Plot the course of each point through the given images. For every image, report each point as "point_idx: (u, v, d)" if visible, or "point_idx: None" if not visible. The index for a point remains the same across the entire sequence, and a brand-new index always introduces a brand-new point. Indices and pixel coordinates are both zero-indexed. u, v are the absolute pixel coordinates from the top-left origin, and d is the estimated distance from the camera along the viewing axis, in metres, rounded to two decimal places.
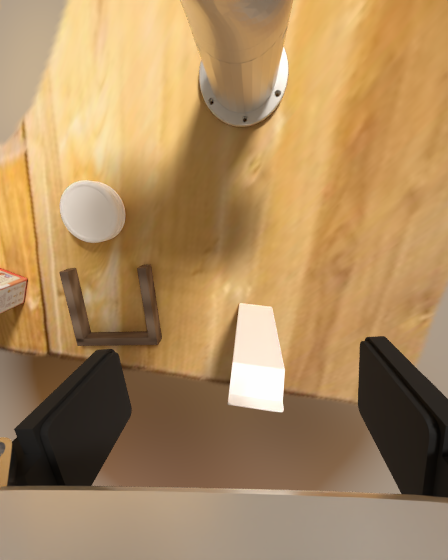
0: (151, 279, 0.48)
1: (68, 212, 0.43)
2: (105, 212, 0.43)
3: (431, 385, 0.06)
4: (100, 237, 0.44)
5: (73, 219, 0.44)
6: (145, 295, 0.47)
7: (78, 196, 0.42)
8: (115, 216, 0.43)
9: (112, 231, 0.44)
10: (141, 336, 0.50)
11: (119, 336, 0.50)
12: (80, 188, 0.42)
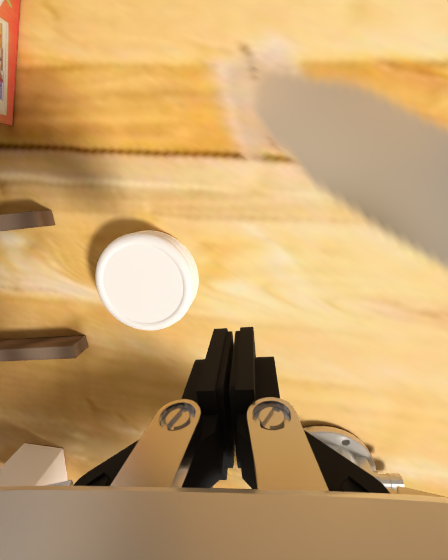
0: None
1: (138, 250, 0.25)
2: (146, 313, 0.27)
3: (252, 362, 0.08)
4: (106, 301, 0.27)
5: (128, 258, 0.25)
6: (33, 353, 0.30)
7: (167, 273, 0.25)
8: (142, 328, 0.27)
9: (119, 320, 0.27)
10: None
11: None
12: (179, 278, 0.25)
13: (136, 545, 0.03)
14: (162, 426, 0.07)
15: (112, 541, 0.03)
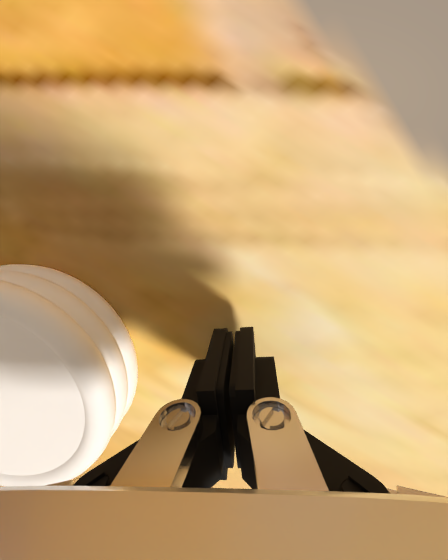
0: None
1: None
2: (9, 458, 0.12)
3: (252, 362, 0.08)
4: None
5: None
6: None
7: (42, 377, 0.10)
8: (6, 485, 0.12)
9: None
10: None
11: None
12: (72, 389, 0.10)
13: (136, 545, 0.03)
14: (162, 426, 0.07)
15: (112, 541, 0.03)
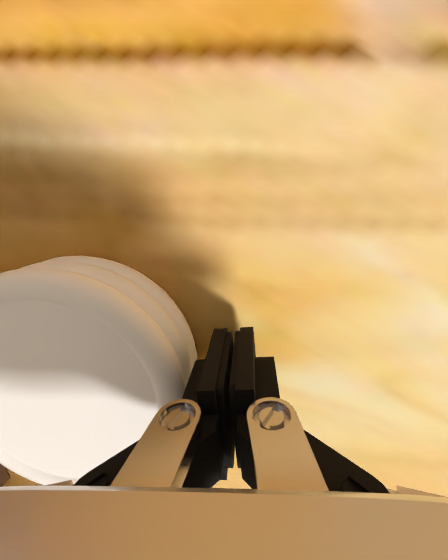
0: None
1: (35, 317, 0.09)
2: (70, 460, 0.11)
3: (252, 362, 0.08)
4: None
5: (11, 334, 0.09)
6: None
7: (115, 376, 0.10)
8: None
9: None
10: None
11: None
12: (147, 389, 0.09)
13: (136, 545, 0.03)
14: (162, 426, 0.07)
15: (112, 541, 0.03)
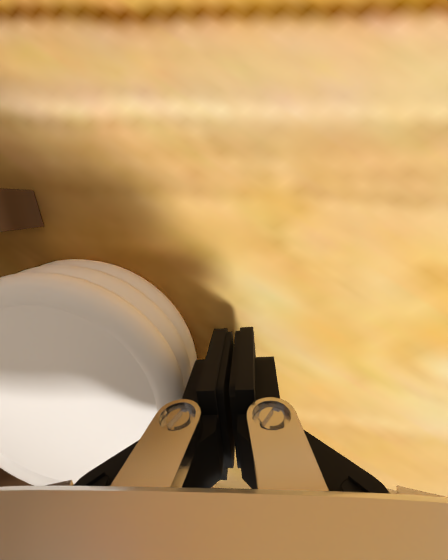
0: None
1: (35, 322, 0.09)
2: (69, 464, 0.11)
3: (251, 362, 0.08)
4: None
5: (10, 339, 0.09)
6: None
7: (115, 381, 0.09)
8: None
9: None
10: None
11: None
12: (147, 394, 0.09)
13: (136, 545, 0.03)
14: (162, 426, 0.07)
15: (112, 541, 0.03)
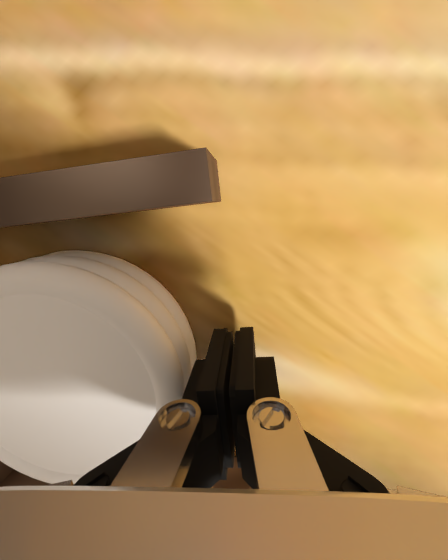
0: None
1: (41, 312, 0.09)
2: (62, 455, 0.11)
3: (252, 362, 0.08)
4: None
5: (13, 327, 0.09)
6: None
7: (116, 376, 0.09)
8: (52, 482, 0.11)
9: None
10: None
11: None
12: (147, 391, 0.10)
13: (136, 545, 0.03)
14: (162, 426, 0.07)
15: (112, 541, 0.03)
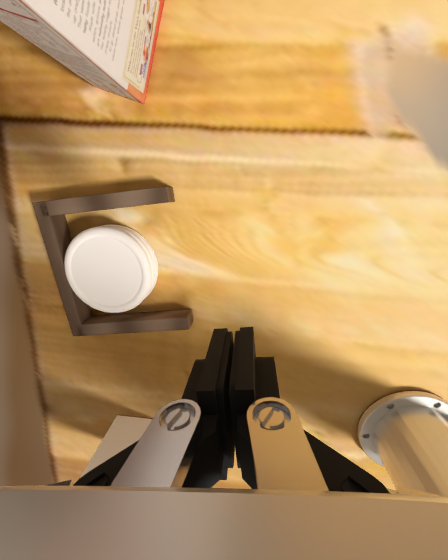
0: None
1: (102, 242, 0.28)
2: (109, 298, 0.30)
3: (252, 362, 0.08)
4: (73, 285, 0.30)
5: (93, 248, 0.29)
6: (147, 325, 0.32)
7: (128, 264, 0.29)
8: (105, 310, 0.31)
9: (85, 302, 0.31)
10: (80, 311, 0.32)
11: None
12: (138, 268, 0.29)
13: (136, 545, 0.03)
14: (162, 426, 0.07)
15: (112, 541, 0.03)
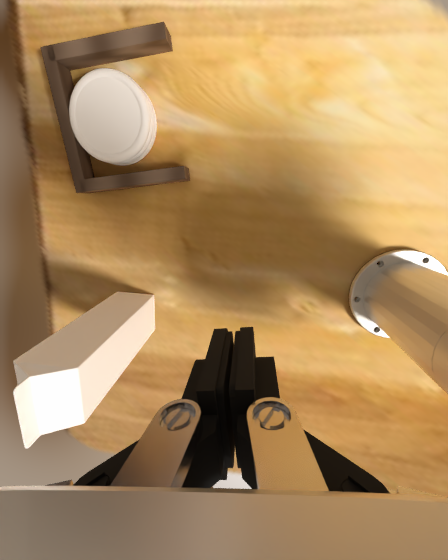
0: (169, 182, 0.35)
1: (104, 83, 0.30)
2: (110, 144, 0.32)
3: (252, 362, 0.08)
4: (77, 132, 0.32)
5: (96, 90, 0.31)
6: (146, 177, 0.33)
7: (128, 105, 0.31)
8: (107, 159, 0.33)
9: (87, 151, 0.33)
10: (83, 166, 0.34)
11: None
12: (137, 110, 0.31)
13: (136, 545, 0.03)
14: (162, 426, 0.07)
15: (112, 541, 0.03)
